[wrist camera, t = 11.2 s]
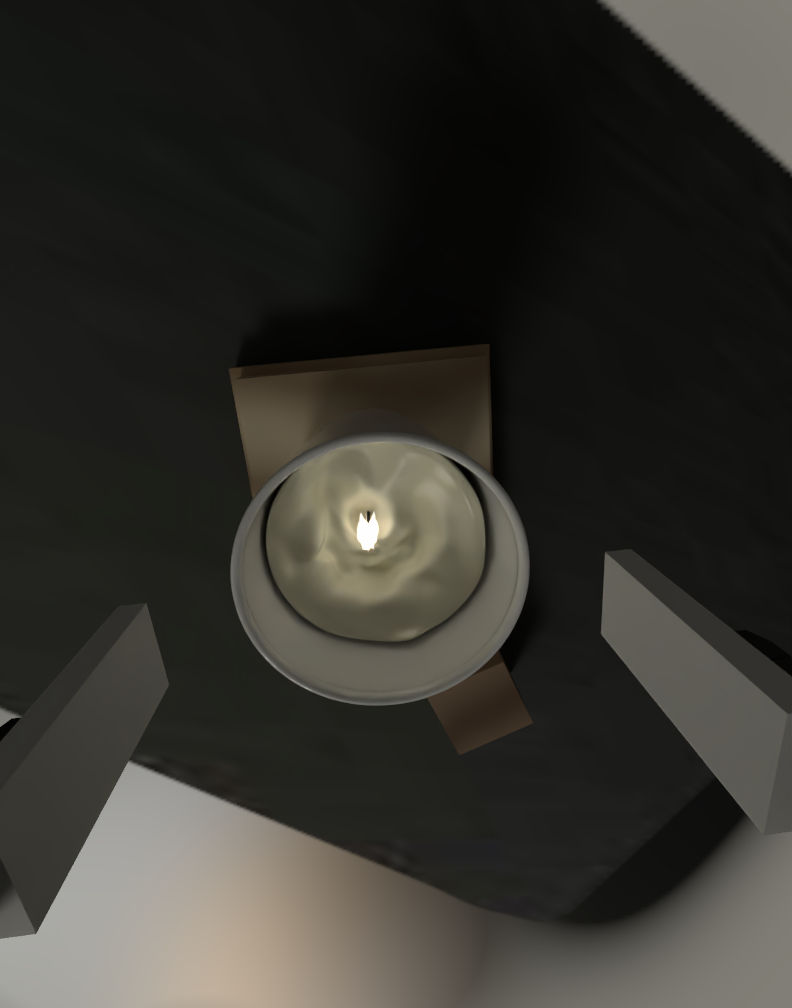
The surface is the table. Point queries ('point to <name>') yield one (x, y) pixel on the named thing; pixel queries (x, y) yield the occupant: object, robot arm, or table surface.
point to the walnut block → (481, 706)
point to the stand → (363, 400)
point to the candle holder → (379, 563)
